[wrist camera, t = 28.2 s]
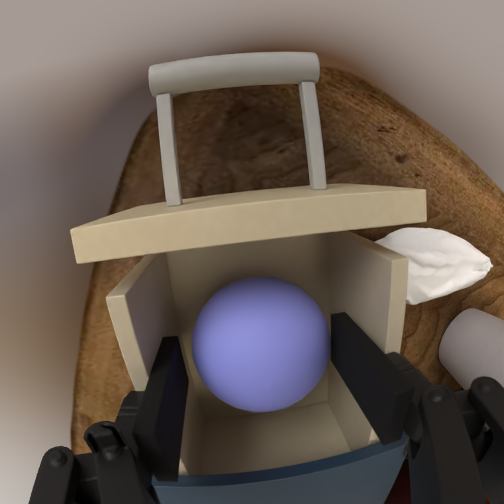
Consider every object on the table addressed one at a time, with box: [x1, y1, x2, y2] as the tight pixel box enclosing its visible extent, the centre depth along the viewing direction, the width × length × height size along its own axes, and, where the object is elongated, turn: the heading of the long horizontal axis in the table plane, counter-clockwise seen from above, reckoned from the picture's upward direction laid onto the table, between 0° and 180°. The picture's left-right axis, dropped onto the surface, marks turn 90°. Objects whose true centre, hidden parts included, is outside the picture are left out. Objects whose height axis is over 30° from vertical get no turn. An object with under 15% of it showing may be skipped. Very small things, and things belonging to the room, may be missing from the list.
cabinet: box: [151, 430, 408, 504], centre depth 18 cm, size 18×14×11 cm
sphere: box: [192, 276, 331, 412], centre depth 15 cm, size 7×7×7 cm
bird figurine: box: [375, 228, 493, 305], centre depth 18 cm, size 5×7×10 cm
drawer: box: [70, 52, 427, 476], centre depth 14 cm, size 23×12×9 cm, turn 6°
